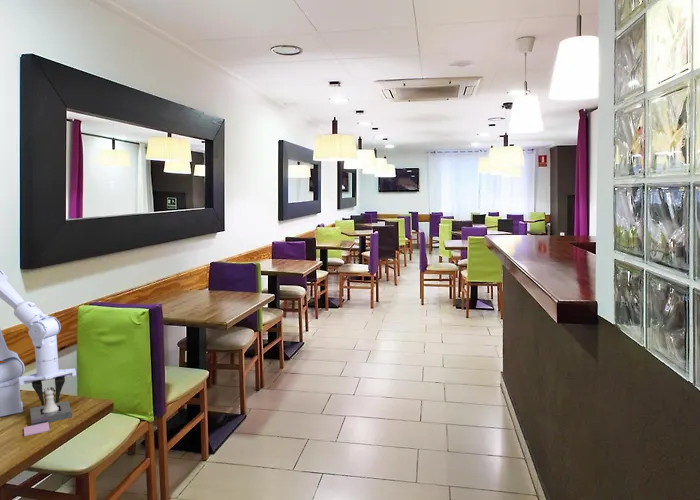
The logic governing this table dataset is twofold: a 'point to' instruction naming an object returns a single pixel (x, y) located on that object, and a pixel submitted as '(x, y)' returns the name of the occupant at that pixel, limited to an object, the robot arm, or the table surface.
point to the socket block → (50, 414)
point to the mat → (36, 429)
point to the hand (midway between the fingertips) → (50, 403)
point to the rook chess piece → (49, 401)
